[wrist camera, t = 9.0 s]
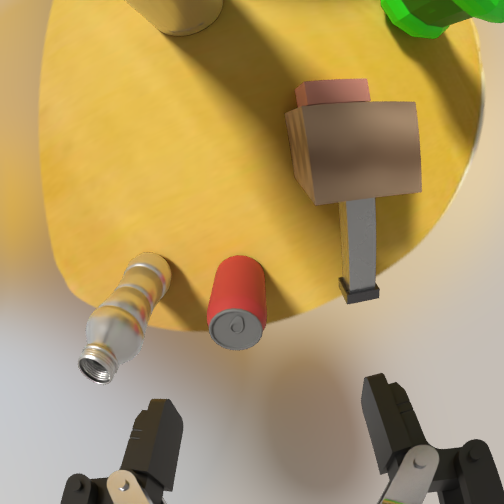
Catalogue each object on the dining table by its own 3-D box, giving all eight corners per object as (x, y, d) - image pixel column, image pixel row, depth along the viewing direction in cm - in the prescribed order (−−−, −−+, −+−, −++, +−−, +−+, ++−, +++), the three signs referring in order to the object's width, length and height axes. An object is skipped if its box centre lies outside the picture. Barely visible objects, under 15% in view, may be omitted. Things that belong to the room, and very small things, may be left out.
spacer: (294, 89, 30) (303, 81, 24) (347, 85, 30) (366, 78, 24) (297, 108, 31) (307, 104, 25) (350, 104, 31) (370, 100, 25)
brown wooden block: (284, 113, 31) (301, 106, 20) (363, 106, 30) (415, 101, 19) (294, 177, 35) (315, 205, 23) (371, 168, 34) (421, 192, 22)
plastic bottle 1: (183, 262, 39) (135, 370, 21) (163, 296, 42) (117, 403, 24) (143, 238, 38) (69, 331, 20) (126, 274, 40) (61, 370, 22)
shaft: (324, 127, 26) (334, 128, 23) (360, 125, 26) (374, 125, 23) (338, 286, 34) (347, 304, 30) (368, 280, 33) (379, 297, 30)
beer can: (269, 259, 39) (275, 312, 28) (258, 299, 42) (259, 358, 31) (220, 248, 39) (208, 299, 28) (212, 290, 41) (200, 347, 30)
